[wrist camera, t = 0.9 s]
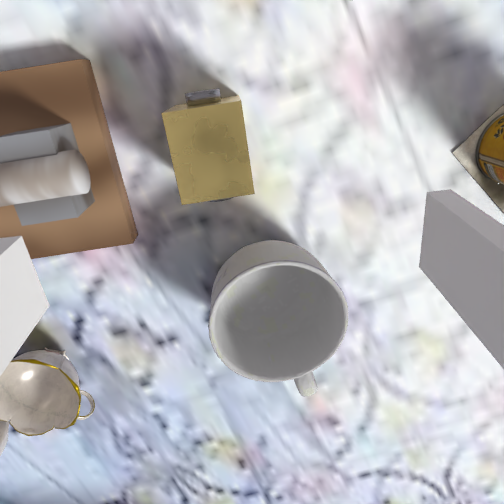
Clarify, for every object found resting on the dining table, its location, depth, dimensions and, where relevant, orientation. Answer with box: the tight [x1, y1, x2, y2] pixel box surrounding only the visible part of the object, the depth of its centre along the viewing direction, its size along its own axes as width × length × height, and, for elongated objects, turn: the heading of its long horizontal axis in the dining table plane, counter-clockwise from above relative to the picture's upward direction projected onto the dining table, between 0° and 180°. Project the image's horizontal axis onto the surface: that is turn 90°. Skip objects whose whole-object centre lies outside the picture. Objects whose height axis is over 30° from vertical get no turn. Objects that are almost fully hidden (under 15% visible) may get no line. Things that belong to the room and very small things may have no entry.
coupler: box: [162, 88, 255, 205], centre depth 30 cm, size 5×8×7 cm, turn 8°
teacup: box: [208, 240, 348, 397], centre depth 35 cm, size 14×11×8 cm
